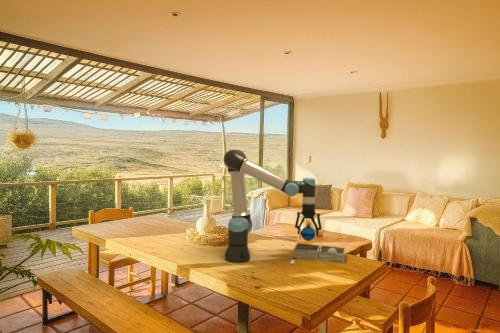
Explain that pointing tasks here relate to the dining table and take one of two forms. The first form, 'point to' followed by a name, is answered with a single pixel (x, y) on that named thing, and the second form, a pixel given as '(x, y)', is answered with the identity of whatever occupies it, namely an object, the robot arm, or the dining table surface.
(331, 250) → the ball
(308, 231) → the ornament
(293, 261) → the card
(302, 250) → the two-compartment wooden tray
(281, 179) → the robot arm
